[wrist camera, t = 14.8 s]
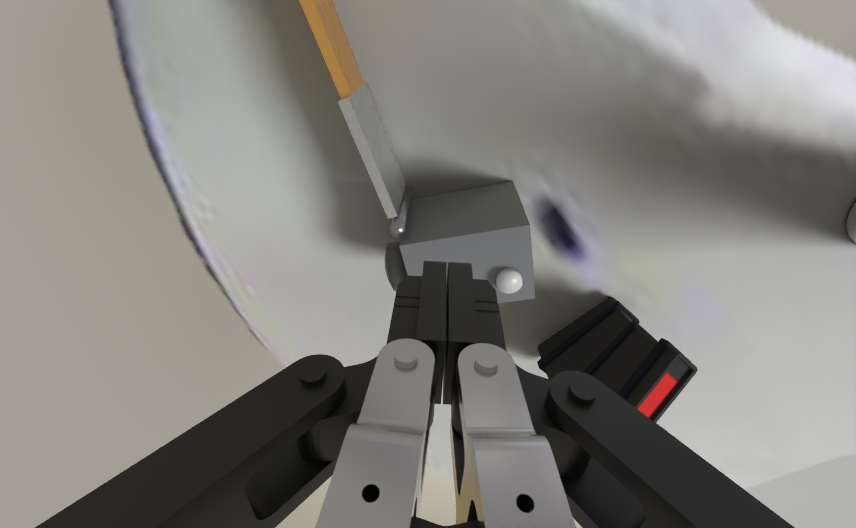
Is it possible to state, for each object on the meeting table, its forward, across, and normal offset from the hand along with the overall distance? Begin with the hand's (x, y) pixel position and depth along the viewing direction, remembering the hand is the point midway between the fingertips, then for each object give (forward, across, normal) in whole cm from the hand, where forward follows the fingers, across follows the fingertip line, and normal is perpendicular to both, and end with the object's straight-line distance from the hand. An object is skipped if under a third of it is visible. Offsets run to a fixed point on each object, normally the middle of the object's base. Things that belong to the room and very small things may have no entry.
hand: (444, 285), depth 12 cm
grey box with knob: (+25, -1, +10) cm, 27 cm away
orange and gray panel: (+24, +7, -1) cm, 25 cm away
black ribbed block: (+25, -18, +22) cm, 38 cm away
